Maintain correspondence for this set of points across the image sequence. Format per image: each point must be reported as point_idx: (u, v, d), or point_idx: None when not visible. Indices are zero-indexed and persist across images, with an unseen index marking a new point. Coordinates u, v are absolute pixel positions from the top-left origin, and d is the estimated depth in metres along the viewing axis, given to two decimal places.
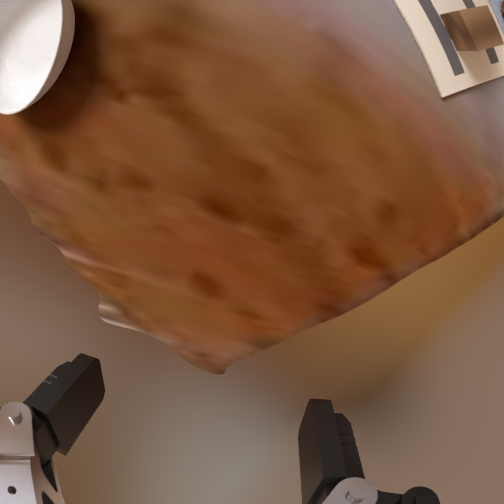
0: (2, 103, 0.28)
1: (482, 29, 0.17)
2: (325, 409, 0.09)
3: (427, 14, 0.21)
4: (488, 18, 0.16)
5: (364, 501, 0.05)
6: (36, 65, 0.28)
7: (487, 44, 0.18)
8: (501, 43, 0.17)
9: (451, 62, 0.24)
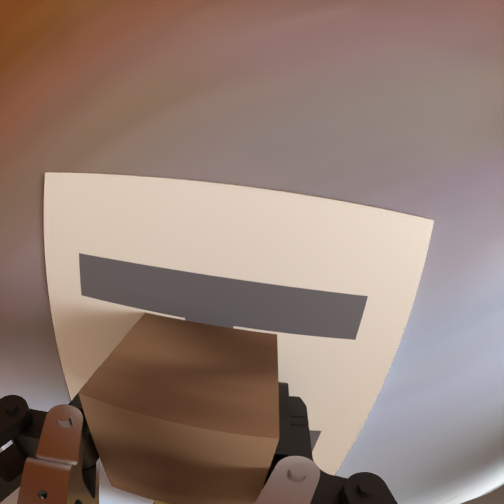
0: None
1: (166, 468, 0.06)
2: (281, 391, 0.09)
3: (295, 293, 0.10)
4: (204, 501, 0.07)
5: (305, 480, 0.06)
6: None
7: (106, 445, 0.06)
8: (113, 481, 0.07)
9: (115, 268, 0.10)
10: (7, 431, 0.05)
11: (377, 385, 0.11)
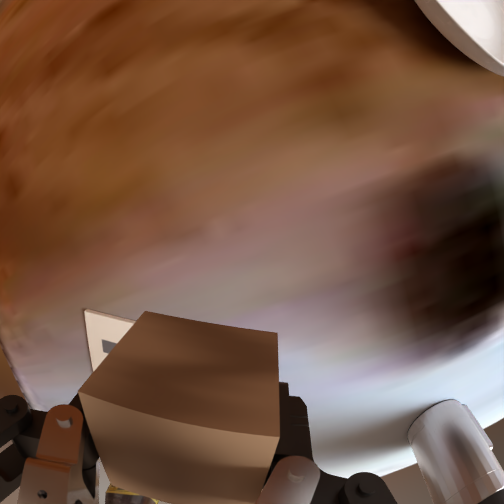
0: None
1: (166, 466, 0.06)
2: (281, 391, 0.10)
3: None
4: (204, 501, 0.07)
5: (305, 480, 0.06)
6: None
7: (106, 444, 0.06)
8: (113, 480, 0.07)
9: (115, 345, 0.30)
10: (7, 431, 0.05)
11: None
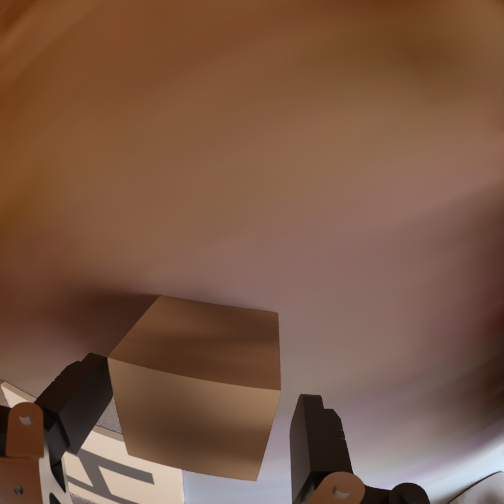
0: None
1: (181, 427, 0.08)
2: (315, 404, 0.09)
3: (117, 464, 0.15)
4: (214, 464, 0.09)
5: (351, 495, 0.05)
6: None
7: (127, 409, 0.08)
8: (130, 449, 0.09)
9: None
10: None
11: (179, 502, 0.16)
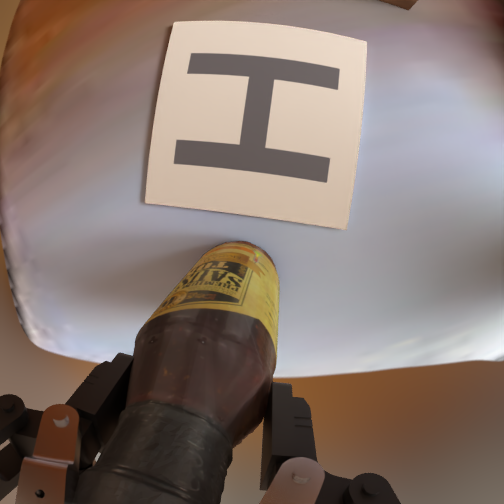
0: None
1: None
2: (284, 392, 0.09)
3: (304, 64, 0.18)
4: None
5: (309, 481, 0.06)
6: None
7: None
8: None
9: (213, 57, 0.18)
10: (4, 430, 0.05)
11: (358, 123, 0.19)
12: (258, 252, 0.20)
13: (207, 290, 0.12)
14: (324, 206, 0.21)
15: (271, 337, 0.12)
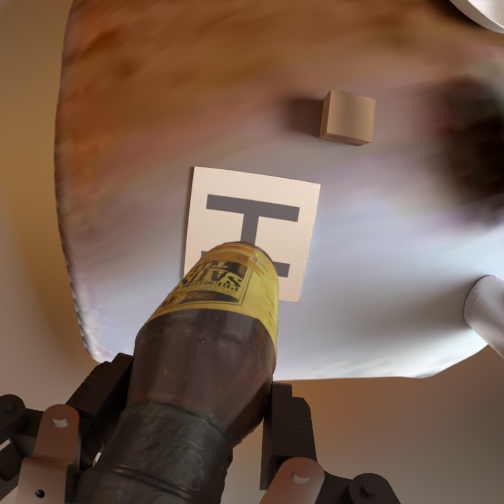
0: None
1: (350, 112, 0.28)
2: (284, 392, 0.09)
3: (277, 205, 0.35)
4: (358, 130, 0.28)
5: (309, 481, 0.06)
6: None
7: (333, 106, 0.28)
8: (328, 128, 0.29)
9: (221, 198, 0.35)
10: (4, 430, 0.05)
11: (308, 242, 0.36)
12: (258, 252, 0.20)
13: (207, 290, 0.12)
14: (285, 290, 0.38)
15: (271, 337, 0.12)
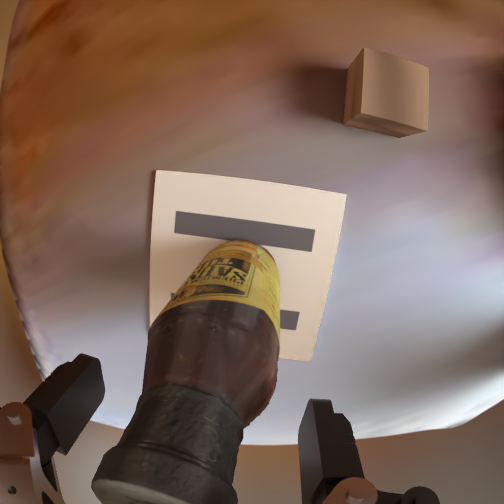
0: None
1: (394, 83, 0.16)
2: (325, 409, 0.09)
3: (281, 227, 0.23)
4: (408, 112, 0.16)
5: (364, 501, 0.05)
6: None
7: (370, 73, 0.16)
8: (363, 106, 0.16)
9: (196, 217, 0.23)
10: None
11: (327, 281, 0.24)
12: (259, 249, 0.21)
13: (215, 284, 0.14)
14: (293, 346, 0.26)
15: (275, 326, 0.14)
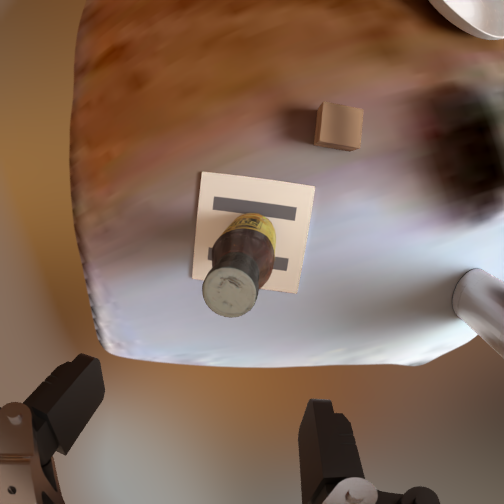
0: None
1: (340, 122, 0.32)
2: (325, 409, 0.09)
3: (276, 206, 0.39)
4: (348, 138, 0.32)
5: (364, 501, 0.05)
6: None
7: (325, 117, 0.32)
8: (321, 137, 0.33)
9: (226, 200, 0.39)
10: None
11: (305, 239, 0.40)
12: (264, 217, 0.37)
13: (244, 224, 0.30)
14: (285, 282, 0.42)
15: (272, 244, 0.30)
